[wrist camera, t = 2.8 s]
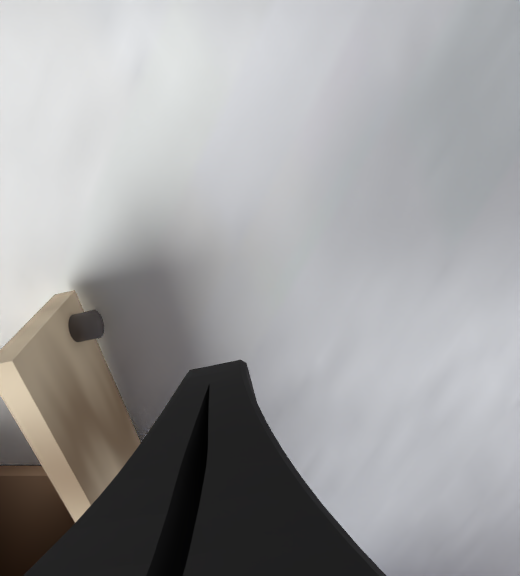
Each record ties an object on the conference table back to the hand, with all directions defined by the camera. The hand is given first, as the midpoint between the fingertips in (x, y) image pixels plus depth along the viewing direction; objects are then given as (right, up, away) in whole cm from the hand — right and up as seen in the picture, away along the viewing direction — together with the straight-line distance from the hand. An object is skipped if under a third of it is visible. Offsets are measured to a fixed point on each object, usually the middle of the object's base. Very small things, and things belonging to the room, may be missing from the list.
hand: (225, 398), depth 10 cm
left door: (-5, -1, +6) cm, 7 cm away
